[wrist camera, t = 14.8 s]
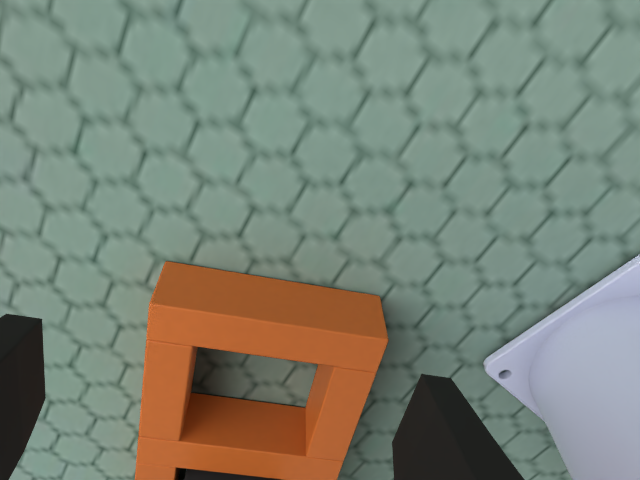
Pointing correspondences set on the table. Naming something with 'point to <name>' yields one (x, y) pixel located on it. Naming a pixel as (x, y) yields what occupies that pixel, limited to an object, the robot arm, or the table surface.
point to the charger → (219, 476)
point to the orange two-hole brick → (263, 340)
